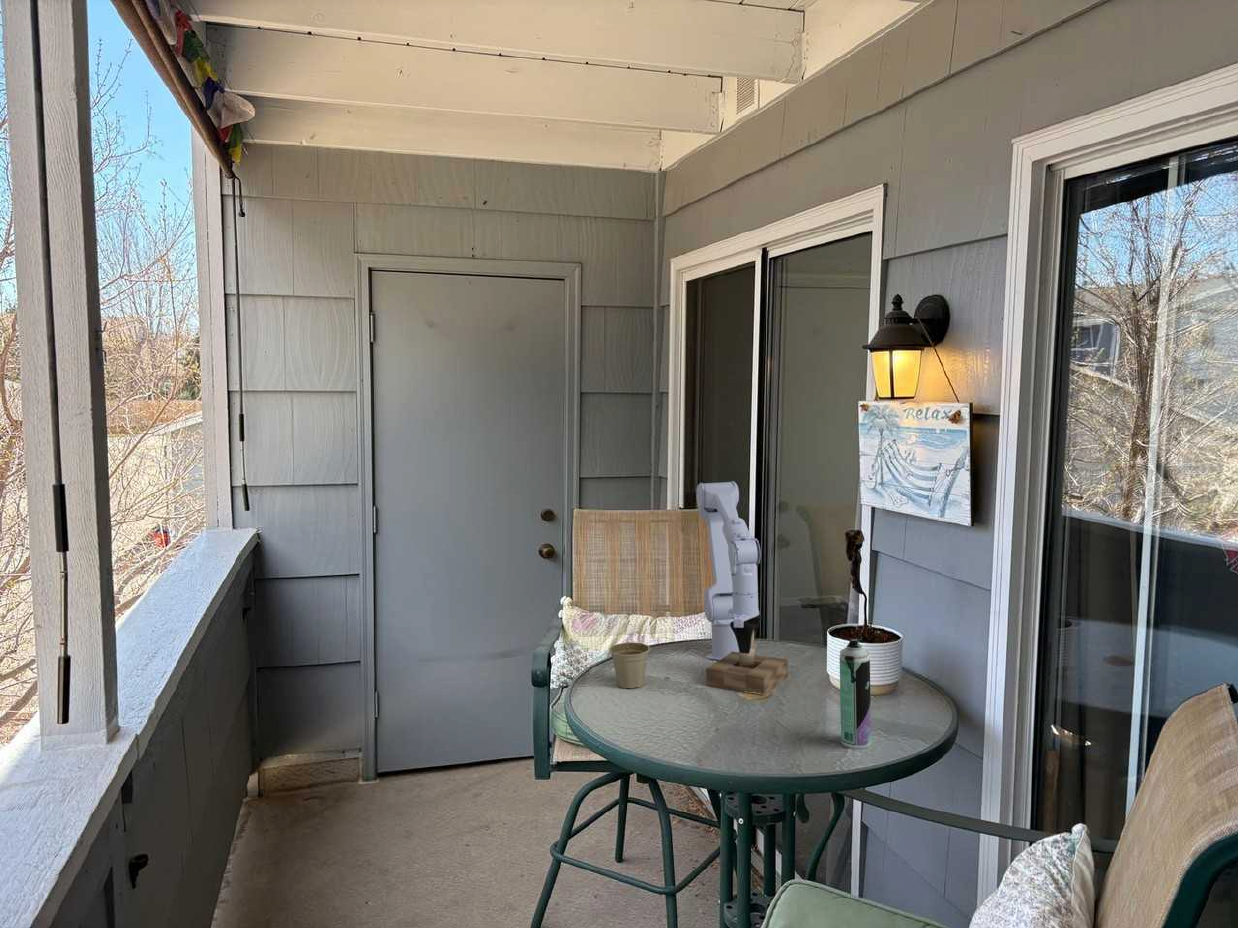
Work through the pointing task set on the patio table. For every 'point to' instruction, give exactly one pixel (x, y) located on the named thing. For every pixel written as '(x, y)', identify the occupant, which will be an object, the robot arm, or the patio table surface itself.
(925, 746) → the patio table surface
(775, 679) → the socket block
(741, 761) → the patio table surface
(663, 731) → the patio table surface
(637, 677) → the flower pot
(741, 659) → the peg
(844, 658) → the spray can
